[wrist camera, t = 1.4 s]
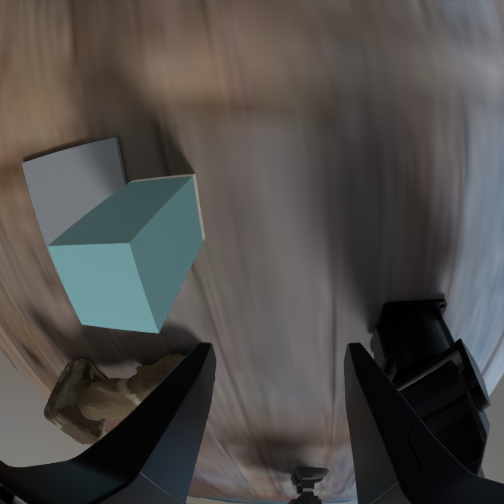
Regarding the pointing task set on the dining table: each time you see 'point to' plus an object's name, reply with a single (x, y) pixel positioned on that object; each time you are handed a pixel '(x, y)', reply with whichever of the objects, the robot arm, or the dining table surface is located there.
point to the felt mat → (73, 183)
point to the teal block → (131, 253)
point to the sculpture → (100, 396)
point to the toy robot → (307, 484)
